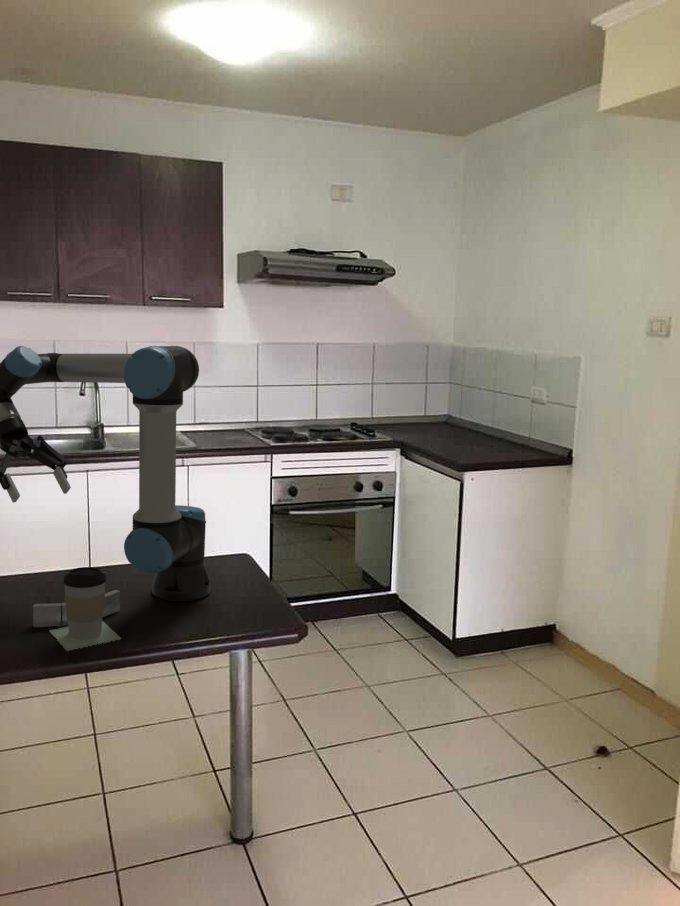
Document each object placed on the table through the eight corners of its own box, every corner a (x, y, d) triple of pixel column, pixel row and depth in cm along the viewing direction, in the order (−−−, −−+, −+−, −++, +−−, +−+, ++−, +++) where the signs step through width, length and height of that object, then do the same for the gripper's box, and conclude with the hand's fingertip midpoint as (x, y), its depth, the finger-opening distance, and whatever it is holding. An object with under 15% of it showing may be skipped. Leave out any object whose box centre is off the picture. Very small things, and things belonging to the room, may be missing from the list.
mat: (101, 621, 181) (101, 619, 181) (120, 639, 171) (120, 637, 171) (49, 631, 173) (49, 630, 173) (66, 651, 164) (66, 649, 164)
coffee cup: (70, 625, 176) (69, 563, 174) (110, 626, 177) (110, 564, 175) (58, 641, 168) (58, 576, 165) (101, 642, 168) (101, 577, 166)
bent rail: (117, 608, 189) (117, 589, 188) (124, 614, 186) (124, 594, 185) (31, 625, 176) (31, 604, 176) (36, 631, 173) (36, 610, 172)
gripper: (45, 430, 202) (80, 495, 196) (-49, 438, 182) (-13, 512, 176) (57, 412, 198) (93, 478, 192) (-38, 419, 178) (-1, 493, 172)
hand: (42, 494), depth 184 cm, fingers open, 13 cm apart
